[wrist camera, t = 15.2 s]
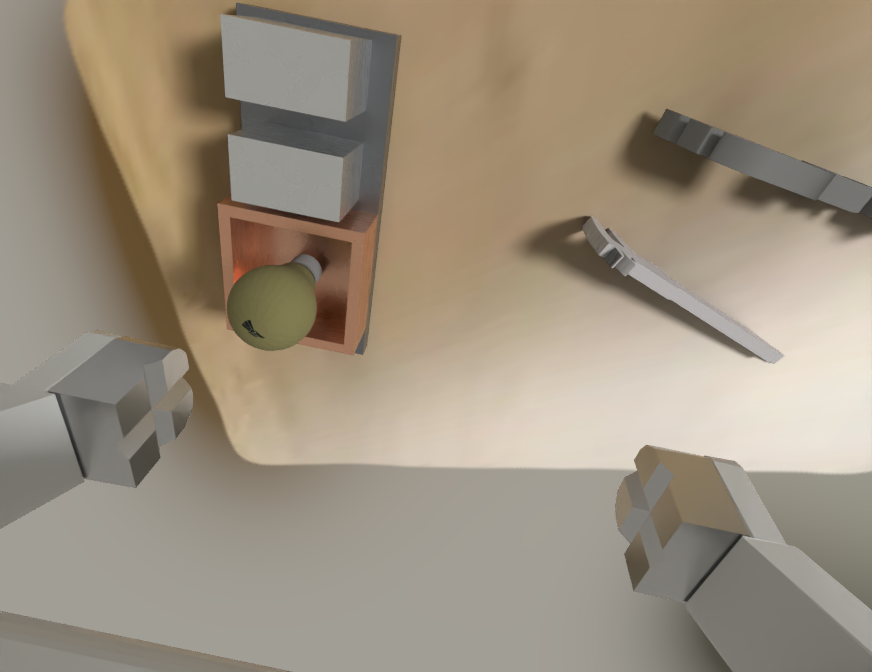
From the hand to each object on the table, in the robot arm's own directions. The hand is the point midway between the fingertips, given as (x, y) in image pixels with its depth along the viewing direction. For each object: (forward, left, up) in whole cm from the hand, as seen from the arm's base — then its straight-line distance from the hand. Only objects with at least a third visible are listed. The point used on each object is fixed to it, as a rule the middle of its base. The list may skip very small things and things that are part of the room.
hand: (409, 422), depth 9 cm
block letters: (-1, +24, -30) cm, 38 cm away
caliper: (+8, +18, -30) cm, 36 cm away
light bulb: (+11, -11, -28) cm, 32 cm away
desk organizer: (+8, -11, -29) cm, 32 cm away
